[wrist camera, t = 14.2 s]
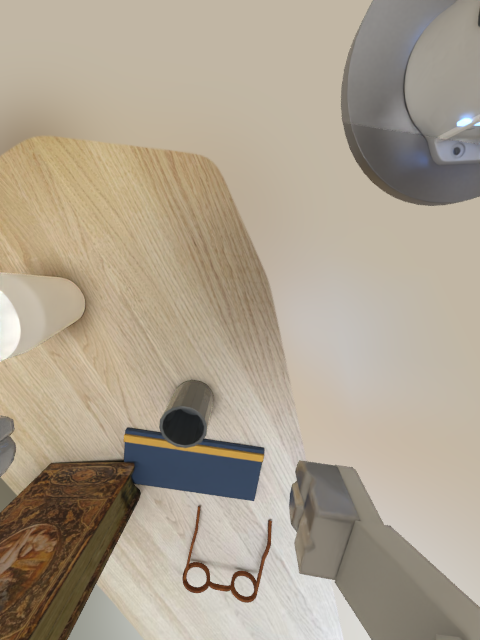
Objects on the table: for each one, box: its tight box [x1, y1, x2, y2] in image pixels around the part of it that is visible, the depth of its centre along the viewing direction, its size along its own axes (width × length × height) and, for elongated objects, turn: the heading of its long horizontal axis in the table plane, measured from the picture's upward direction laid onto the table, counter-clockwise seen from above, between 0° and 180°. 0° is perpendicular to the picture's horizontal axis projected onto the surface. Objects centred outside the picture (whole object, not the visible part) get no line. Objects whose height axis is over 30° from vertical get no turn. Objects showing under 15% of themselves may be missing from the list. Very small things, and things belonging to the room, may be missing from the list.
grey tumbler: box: [159, 380, 214, 448], centre depth 36 cm, size 6×6×7 cm
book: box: [0, 462, 141, 640], centre depth 31 cm, size 16×6×25 cm, turn 95°
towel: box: [124, 428, 264, 501], centre depth 42 cm, size 22×10×1 cm, turn 81°
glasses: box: [183, 506, 272, 602], centre depth 43 cm, size 13×13×5 cm
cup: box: [0, 272, 85, 361], centre depth 30 cm, size 9×9×12 cm
